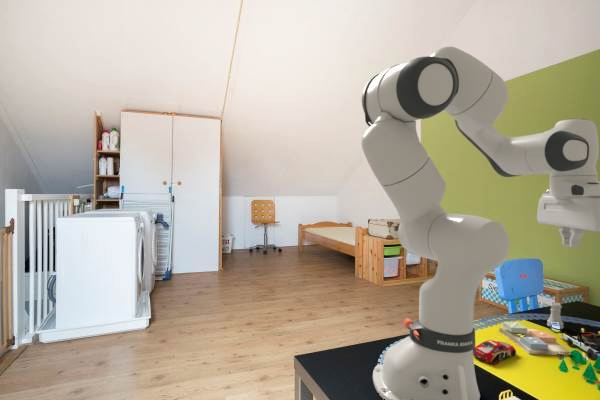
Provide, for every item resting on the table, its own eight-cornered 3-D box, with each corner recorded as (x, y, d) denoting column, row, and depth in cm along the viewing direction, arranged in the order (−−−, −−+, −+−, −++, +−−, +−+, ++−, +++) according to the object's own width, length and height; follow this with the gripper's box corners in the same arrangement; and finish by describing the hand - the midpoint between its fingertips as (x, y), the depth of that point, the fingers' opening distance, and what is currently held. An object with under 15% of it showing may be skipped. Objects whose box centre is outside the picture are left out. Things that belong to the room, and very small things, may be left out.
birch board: (529, 353, 90) (529, 350, 90) (499, 330, 105) (499, 327, 105) (571, 355, 89) (571, 351, 89) (535, 332, 104) (535, 329, 104)
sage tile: (511, 332, 99) (511, 327, 99) (502, 326, 104) (503, 321, 104) (527, 332, 99) (527, 328, 99) (517, 326, 104) (518, 322, 104)
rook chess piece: (552, 323, 111) (553, 300, 111) (567, 328, 107) (567, 304, 107) (543, 325, 110) (544, 301, 110) (557, 330, 106) (558, 305, 105)
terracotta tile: (539, 342, 94) (539, 337, 94) (529, 335, 99) (529, 330, 99) (556, 342, 94) (556, 337, 94) (545, 335, 99) (545, 330, 99)
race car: (500, 347, 94) (500, 333, 94) (519, 356, 89) (520, 341, 89) (468, 356, 88) (469, 342, 88) (488, 366, 83) (488, 350, 83)
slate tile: (530, 348, 90) (530, 343, 90) (520, 341, 95) (520, 336, 95) (547, 349, 90) (548, 344, 90) (536, 341, 95) (536, 336, 95)
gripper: (530, 189, 89) (529, 239, 89) (593, 188, 69) (591, 254, 69) (555, 189, 89) (553, 240, 89) (625, 188, 68) (623, 254, 69)
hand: (570, 246), depth 79 cm, fingers closed
